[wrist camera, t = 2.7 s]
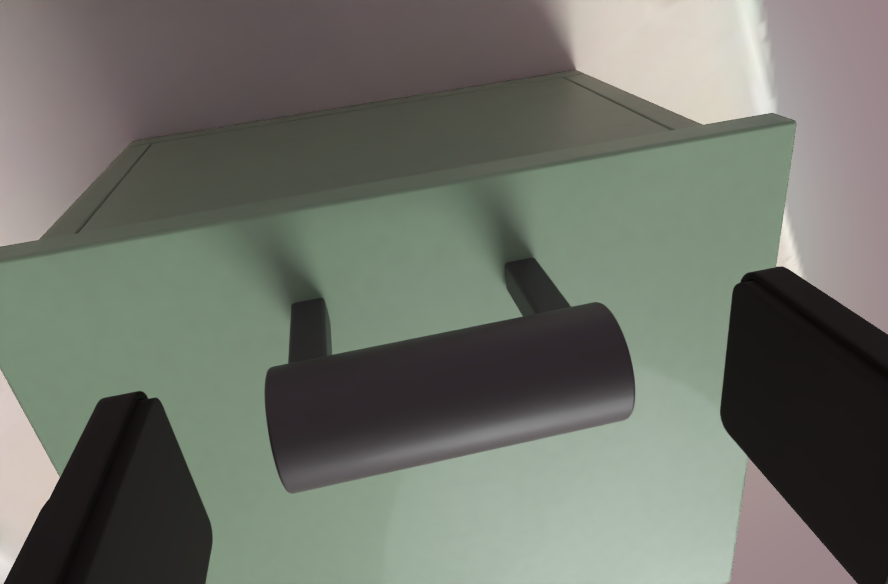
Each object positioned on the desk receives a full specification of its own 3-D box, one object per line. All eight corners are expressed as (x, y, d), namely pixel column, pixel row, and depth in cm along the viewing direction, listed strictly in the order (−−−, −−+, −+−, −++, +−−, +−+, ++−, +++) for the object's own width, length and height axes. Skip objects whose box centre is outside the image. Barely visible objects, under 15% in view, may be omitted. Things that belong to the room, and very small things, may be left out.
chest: (131, 141, 23) (-13, 290, 13) (577, 69, 25) (767, 150, 15) (235, 434, 30) (196, 689, 19) (582, 361, 32) (716, 560, 21)
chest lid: (-35, 251, 12) (-249, 435, 8) (773, 111, 14) (1008, 190, 9) (195, 691, 19) (159, 929, 15) (716, 561, 21) (834, 737, 16)
